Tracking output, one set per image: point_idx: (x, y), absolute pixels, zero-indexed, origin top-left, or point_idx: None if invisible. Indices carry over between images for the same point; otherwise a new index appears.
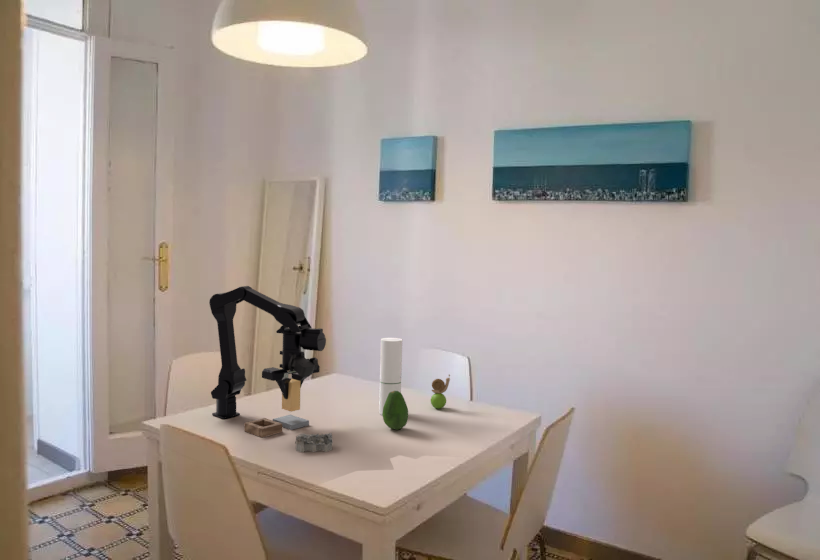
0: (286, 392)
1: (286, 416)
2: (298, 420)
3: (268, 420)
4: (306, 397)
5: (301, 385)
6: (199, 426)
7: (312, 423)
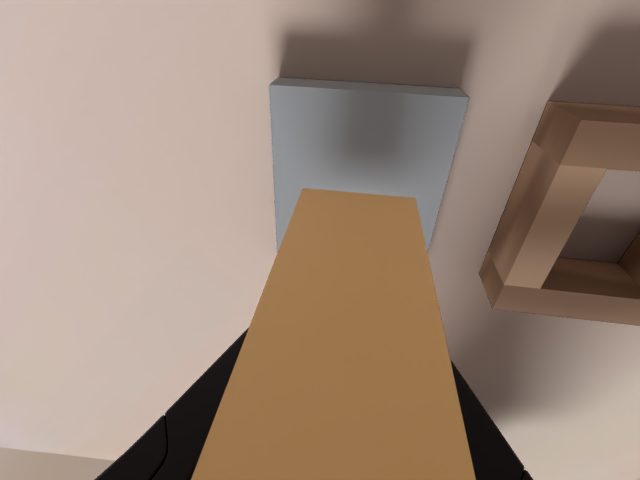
0: (479, 413)
1: None
2: (333, 148)
3: (537, 261)
4: (51, 381)
5: (147, 432)
6: (629, 436)
7: (231, 91)
